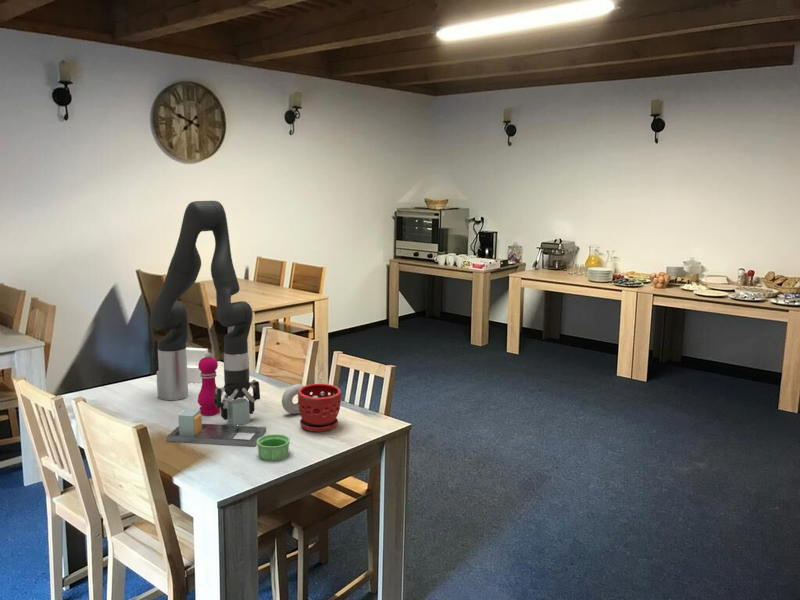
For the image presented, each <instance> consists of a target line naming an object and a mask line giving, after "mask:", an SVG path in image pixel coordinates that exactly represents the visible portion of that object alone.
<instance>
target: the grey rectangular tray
mask: <svg viewBox="0 0 800 600" xmlns="http://www.w3.org/2000/svg"><path fill="white" fill-rule="evenodd" d="M266 432H267V427H266V426H248V425H238V426H235V425H231V424H214V423H202V430H201V432H200V433H199V434H198V435H197V436H180V435H179V425H178V426H177V427H175V429H173V430H172V431H171V432H170V433H169V434H167V436H166V442H170V441H176V442H175V443H189V444H190V443H192V444H205V445H208V444H209V445H221V446H222V445H223V446H236V445H237V447H239V446H240V447H253V448H254V447H255V446H256V445H257V440H258V439H259V438H260V437H262V436H265V435H266ZM236 433H237V434H238V433H249V434H250V433H252V434H253V435H252V436H251V437H250V438H249V439H246V438H245V439H244V438H234V437H235V436H236V435H237V434H236Z"/></svg>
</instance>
